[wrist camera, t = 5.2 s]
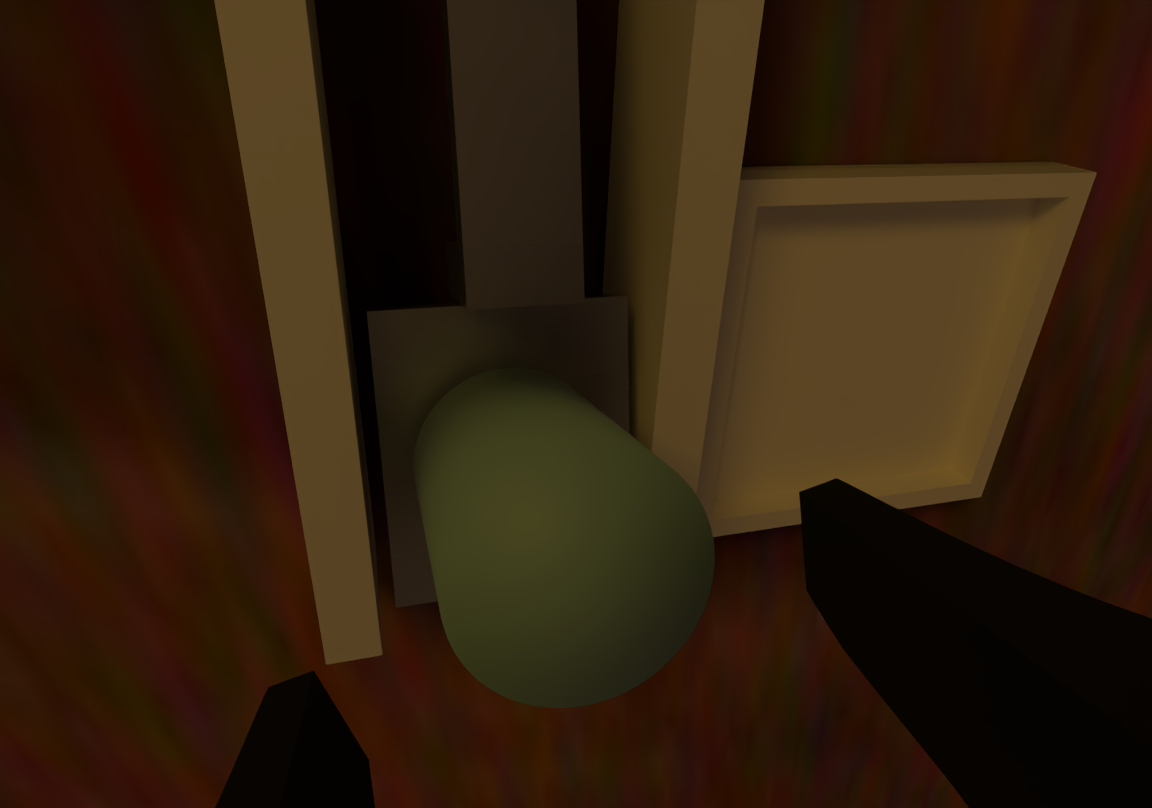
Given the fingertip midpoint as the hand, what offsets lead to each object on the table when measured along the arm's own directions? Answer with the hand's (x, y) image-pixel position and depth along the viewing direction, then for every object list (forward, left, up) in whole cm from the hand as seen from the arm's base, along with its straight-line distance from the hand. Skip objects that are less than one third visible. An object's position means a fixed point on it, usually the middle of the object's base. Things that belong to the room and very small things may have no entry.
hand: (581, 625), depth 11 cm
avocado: (0, +1, -5) cm, 5 cm away
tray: (-11, 0, -9) cm, 14 cm away
